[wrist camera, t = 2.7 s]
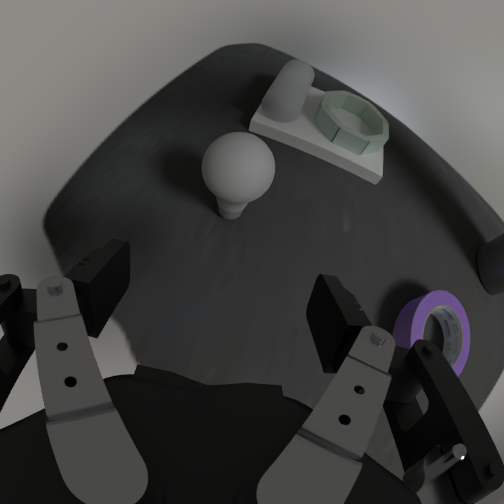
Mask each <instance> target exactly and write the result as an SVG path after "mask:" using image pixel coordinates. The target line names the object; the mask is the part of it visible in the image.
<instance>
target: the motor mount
mask: <svg viewBox="0 0 504 504" xmlns="http://www.w3.org/2000/svg"><path fill="white" fill-rule="evenodd" d="M313 79H314V71H313V68H312V67H311V66H310V65H309V64H308V63H306V62H304V61H302V60H291V61H289V62H287V63H286V64H285V65H284V67H283V68H282V70H281V71H280V73H279V74H278V76H277V77H276V79H275V80H274V82H273V83H272V85H271V86H270V88H269V90H268V91H267V93H266V94H265V96H264V97H263V99H262V102H261V104H260V106H259V108H258V109H257V111H256V113H255V114H254V116H253V118H252V119H251V122H250V127H249V131H251V132H254V133H257V134H260V135H263V136H265V137H268V138H271V139H274V140H276V141H279V142H281V143H284V144H287V145H289V146H292V147H294V148H297V149H299V150H301V151H304V152H306V153H309V154H311V155H313V156H316V157H318V158H320V159H323V160H325V161H327V162H329V163H331V164H334V165H336V166H338V167H340V168H342V169H344V170H347V171H349V172H351V173H353V174H355V175H357V176H359V177H361V178H363V179H365V180H367V181H369V182H371V183H373V184H375V185H376V184H377V182H378V181H379V180H380V179H381V178H382V174H383V145H384V144H385V143H386V142H387V140H388V139H389V123H388V121H387V120H386V119H385V118H384V117H383V115H382V114H381V113H380V112H379V111H378V110H377V109H376V108H375V106H374V105H373V104H370V102H368V101H366V100H364V99H362V98H360V97H358V96H356V95H354V94H352V93H350V92H348V91H347V92H346V91H326V92H323V91H321V90H319V89H316V88H314V87H311V84H312V82H313Z"/></svg>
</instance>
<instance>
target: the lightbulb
mask: <svg viewBox="0 0 504 504" xmlns="http://www.w3.org/2000/svg"><path fill="white" fill-rule="evenodd" d="M274 173H275V162H274V157H273V154H272V152H271V151H270V149H269V147H268V146H267V145H266V144H265V143H264V142H263V141H262V140H261V139H259V138H258V137H256V136H254V135H252V134H249V133H245V132H233V133H229V134H226V135H223V136H221V137H219V138H218V139H216V140H215V141H214V142H213V143H212V144H211V145H210V146H209V148H208V149H207V151H206V152H205V155H204V157H203V160H202V176H203V179H204V181H205V184H206V186H207V187H208V189H209V190H210V191H211V192H212V193H213V194H214V195H215V196H216V199H217V203H218V208H219V213H220V215H221V216H222V217H224V218H225V219H229V220H232V219H236V218H238V217H239V216H240V215H241V213H242V211H243V209H244V208H245V207H246V205H247V203H248V202H250V201H253V200H255V199H257V198H259V197H260V196H261V195H263V194H264V193H265V192H266V190H267V189H268V188H269V187H270V185H271V183H272V181H273V178H274Z"/></svg>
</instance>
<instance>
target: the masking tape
mask: <svg viewBox="0 0 504 504" xmlns="http://www.w3.org/2000/svg"><path fill="white" fill-rule="evenodd" d="M429 314H432V315H433V316H435V317H436V318H437V320H438V321H439V323H440V325H441V327H442V330H443V336H444V345H443V351H442V353H443V355H444V356H445V358H446V359H447V361H448V362H449V364H450V366H451V367H452V369H453V370H454V372H455V373H456V375H457V377H458V376H459V374H460V373H461V372H462V370H463V368H464V366H465V363H466V361H467V358H468V354H469V348H470V327H469V322H468V319H467V315H466V313H465V310H464V308H463V307H462V305H461V303H460V302H459V301H458V299H457V298H456V297H455V296H453V295H452V294H451V293H449V292H446V291H443V290H436V291H432V292H430V293H428V294H425V295H423V296H420V297H418V298H416V299H413V300H411V301H410V302H408V303H407V304H406V305H405V306H404V307H403V309H402V310H401V312H400V313H399V315H398V317H397V319H396V322H395V326H394V329H393V334H392V337H393V338H394V340H395V343H396V346H400V347H404V348H408V349H411V347H412V345H413V344H414V342H415V341H416V340H419V339H423V332H424V326H425V323H426V320H427V318H428V316H429Z"/></svg>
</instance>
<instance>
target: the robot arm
mask: <svg viewBox="0 0 504 504" xmlns="http://www.w3.org/2000/svg"><path fill="white" fill-rule="evenodd" d="M477 265H478V271H479V275H480V278H481V281H482V283H483V285H484V287H485V289H486V290H487V291H488V292H489V293H490V294H491V295H496V294H499V293H503V292H504V233H503V234H502V235H500V236H498V237H497V238H495V239H493V240H492V241H490V242H488V243H486V244H485V245H483V246H481V247H480V248H479V250H478V254H477ZM129 282H130V244H129V242H125V241H120V240H114V239H112V240H111V241H109V242H108V243H107V244H106V245H105V246H104V247H103V248H102V249H101V248H99V249H97V250H95V251H92V252H90V253H89V254H88V255H87V256H86V257H85V258H84V260H83V259H82V260H81V261H80V262H79V264H77V265H76V266H75V267H74V268H73V269H72V270H71V271H70V272H69V273H68V274H67V275H66V276H65V277H59V276H57V277H50V278H47V279H45V280H43V281H42V282H41V283H40V284H39V285H38V287H37V289H22V287H21V283H20V279H19V277H18V276H16V275H13V274H5V275H1V276H0V324H1V327H2V329H3V332H4V336H3V337H2V338H1V340H0V412H1V410H2V407H3V406H4V404H5V402H6V399H7V398H8V396H9V394H10V392H11V390H12V388H13V386H14V384H15V383H16V381H17V379H18V377H19V375H20V373H21V372H22V370H23V368H24V367H25V365H26V363H27V361H28V360H29V358H30V357H31V355H32V353H33V352H34V350H35V349H36V358H37V366H38V373H39V379H40V385H41V391H42V396H43V401H44V405H45V409H42V410H40V411H38V412H36V413H34V414H32V415H30V416H28V417H26V418H24V419H22V420H20V421H17V422H15V423H13V424H11V425H9V426H7V427H5V428H2V429H0V504H474V503H476V502H478V501H479V500H481V499H483V498H484V497H486V496H487V495H489V494H490V493H492V492H493V491H495V490H496V489H498V488H499V487H500V486H501V485H502V483H503V481H504V465H503V462H502V460H501V457H500V455H499V453H498V451H497V449H496V446H495V444H494V442H493V440H492V438H491V436H490V434H489V432H488V430H487V428H486V426H485V424H484V422H483V420H482V418H481V417H480V415H479V413H478V411H477V409H476V407H475V406H474V404H473V402H472V400H471V398H470V397H469V395H468V393H467V392H466V390H465V388H464V387H463V385H462V383H461V382H460V380H459V378H458V377H457V375H456V373H455V372H454V370H453V369H452V367H451V366H450V364H449V362H448V361H447V359H446V358H445V356H444V355H443V353H442V352H441V350H440V349H439V348H438V347H437V346H436V345H435V344H433V343H432V342H430V341H427V340H423V339H419V340H416V341H415V342H414V344H413V345H412V347H411V349H408V348H404V347H400V346H396V343H395V340H394V338H393V337H392V335H391V334H390V333H388V332H387V331H386V330H384V329H382V328H380V327H376V326H372V324H371V323H370V321H369V319H368V318H367V316H366V314H365V313H364V311H363V310H362V308H361V306H360V305H359V304H358V301H357V300H356V298H355V297H354V295H353V294H351V293H350V292H349V291H348V290H347V289H344V287H343V286H342V284H341V282H340V281H339V279H338V278H337V277H336V276H330V275H324V274H319V275H318V277H317V279H316V282H315V285H314V288H313V291H312V294H311V297H310V299H309V302H308V305H307V311H306V317H307V321H308V324H309V327H310V330H311V333H312V336H313V339H314V343H315V346H316V349H317V352H318V355H319V358H320V362H321V365H322V368H323V371H324V373H336V375H335V377H334V379H333V380H332V382H331V384H330V385H329V387H328V388H327V390H326V392H325V393H324V395H323V396H322V398H321V399H320V401H319V402H318V404H317V405H316V407H315V408H314V410H313V409H311V408H310V407H308V406H307V405H305V404H303V403H301V402H299V401H297V400H294V399H292V398H289V397H285V396H283V392H282V385H268V384H255V383H238V384H227V385H205V384H202V383H199V382H197V381H194V380H191V379H189V378H186V377H184V376H181V375H178V374H176V373H173V372H170V371H165V370H160V369H155V368H151V367H146V366H142V365H138V364H137V367H136V370H135V373H134V374H127V375H117V376H112V377H108V378H105V379H102V376H101V373H100V371H99V368H98V365H97V362H96V360H95V357H94V354H93V351H92V348H91V345H90V342H89V338H88V336H90V337H94V338H98V336H99V335H100V333H101V331H102V329H103V328H104V326H105V324H106V323H107V321H108V319H109V318H110V316H111V314H112V313H113V311H114V310H115V308H116V306H117V305H118V303H119V302H120V300H121V298H122V297H123V295H124V294H125V292H126V291H127V289H128V286H129ZM422 388H423V390H424V392H425V394H426V396H427V398H428V401H429V406H428V410H427V412H426V413H425V414H424V415H423V413H422V411H421V408H420V406H419V404H418V402H417V400H416V397H415V396H416V395H417V394H418V393H419V391H420V390H421V389H422ZM382 406H383V408H384V411H385V413H386V416H387V419H388V422H389V425H390V428H391V431H392V434H393V437H394V440H395V443H396V446H397V449H398V452H399V456H400V459H401V462H402V465H403V469H404V472H405V473H404V476H403V481H402V480H400V479H399V478H398V477H396V476H395V475H394V474H392V473H391V472H389V471H388V470H387V469H385V468H384V467H383V466H381V465H380V464H379V463H377V462H376V461H375V460H374V459H372V458H371V457H370V456H368V455H367V454H366V453H365V449H366V447H367V445H368V442H369V440H370V438H371V435H372V433H373V430H374V428H375V425H376V422H377V420H378V417H379V414H380V411H381V409H382Z"/></svg>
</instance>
